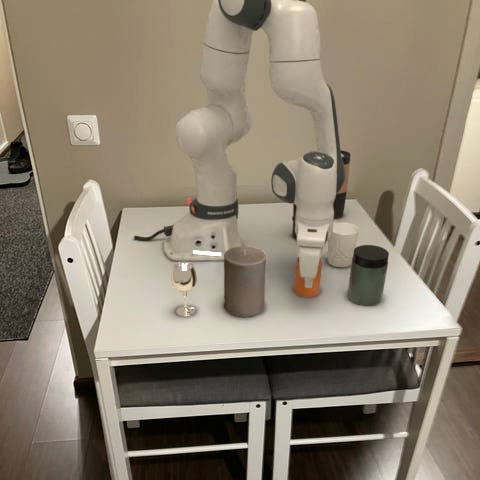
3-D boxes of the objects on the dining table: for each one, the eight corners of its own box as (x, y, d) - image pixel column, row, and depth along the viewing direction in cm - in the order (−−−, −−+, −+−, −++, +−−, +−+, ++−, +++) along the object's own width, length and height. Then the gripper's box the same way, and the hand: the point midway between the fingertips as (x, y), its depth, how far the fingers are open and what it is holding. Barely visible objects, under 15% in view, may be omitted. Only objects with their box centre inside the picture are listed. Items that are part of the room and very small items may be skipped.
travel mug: (317, 210, 182) (323, 150, 171) (340, 210, 183) (347, 149, 172) (323, 220, 176) (329, 157, 165) (346, 219, 177) (354, 156, 166)
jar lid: (361, 269, 126) (362, 261, 125) (347, 254, 133) (348, 246, 132) (393, 265, 128) (394, 258, 127) (378, 250, 134) (379, 243, 133)
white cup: (353, 270, 148) (358, 235, 142) (324, 267, 149) (327, 233, 143) (354, 256, 154) (359, 223, 149) (326, 254, 155) (329, 221, 150)
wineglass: (178, 319, 127) (174, 273, 120) (170, 307, 131) (167, 262, 125) (201, 314, 129) (199, 269, 122) (193, 302, 133) (191, 258, 127)
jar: (355, 307, 132) (361, 264, 125) (342, 290, 138) (347, 248, 132) (387, 303, 133) (395, 260, 127) (373, 286, 140) (379, 245, 134)
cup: (298, 298, 135) (300, 267, 130) (290, 285, 140) (292, 255, 136) (322, 295, 136) (325, 264, 132) (314, 283, 141) (317, 253, 137)
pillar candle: (215, 307, 131) (214, 250, 123) (242, 292, 138) (242, 236, 129) (247, 322, 126) (248, 263, 118) (273, 305, 132) (275, 248, 124)
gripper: (304, 208, 138) (301, 257, 145) (295, 242, 121) (292, 296, 128) (330, 209, 137) (325, 259, 144) (324, 244, 120) (320, 298, 127)
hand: (310, 277), depth 136 cm, fingers open, 8 cm apart
